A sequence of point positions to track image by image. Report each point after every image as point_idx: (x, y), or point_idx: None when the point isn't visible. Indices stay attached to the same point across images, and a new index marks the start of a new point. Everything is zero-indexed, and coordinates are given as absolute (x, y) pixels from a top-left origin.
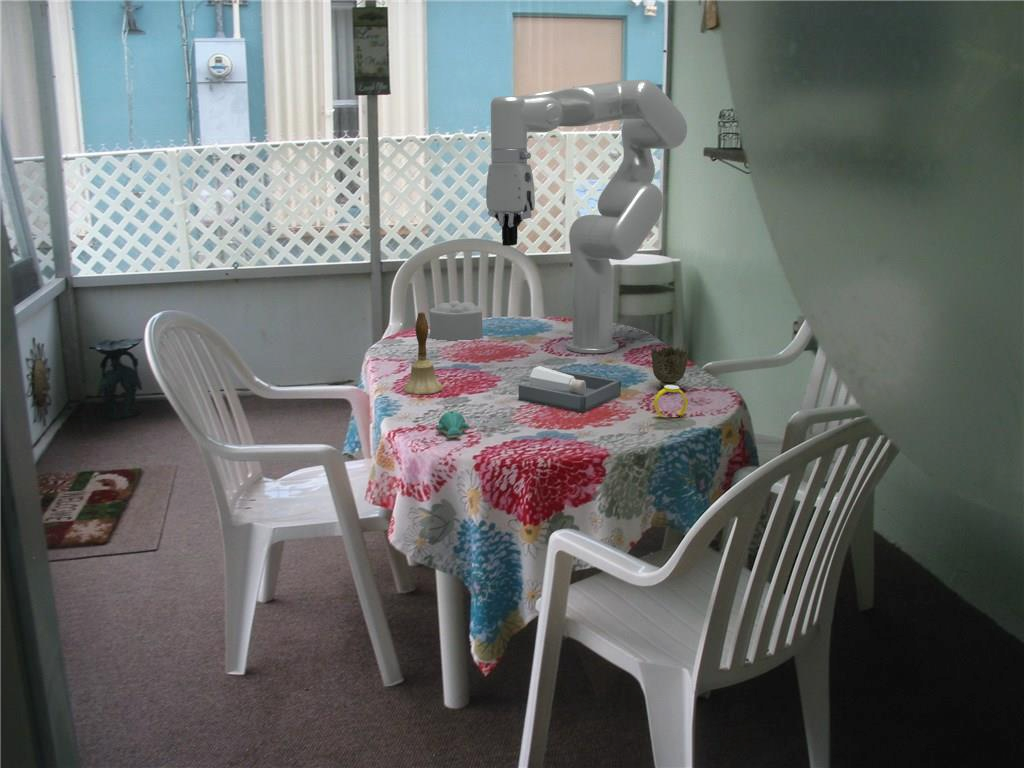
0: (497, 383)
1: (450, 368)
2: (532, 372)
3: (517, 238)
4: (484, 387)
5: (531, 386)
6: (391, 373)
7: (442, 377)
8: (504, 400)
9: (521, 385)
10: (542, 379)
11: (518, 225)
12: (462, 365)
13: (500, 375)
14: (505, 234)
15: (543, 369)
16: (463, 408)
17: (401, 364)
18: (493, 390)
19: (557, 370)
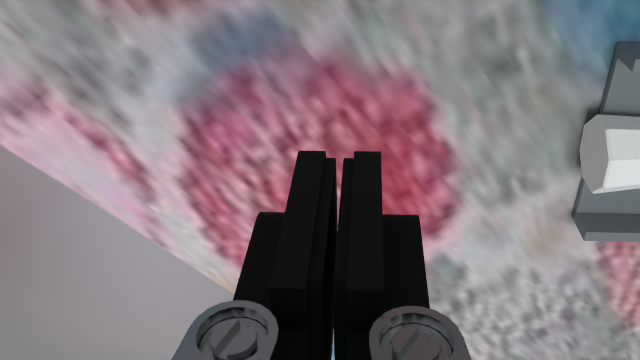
0: (442, 134)
1: (220, 85)
2: (601, 190)
3: (419, 222)
4: (432, 179)
5: (624, 235)
6: (143, 203)
7: (274, 166)
8: (540, 234)
9: (593, 239)
10: (637, 188)
11: (445, 336)
12: (221, 36)
13: (400, 63)
14: (331, 346)
15: (636, 174)
16: (484, 309)
17: (80, 128)
18: (469, 187)
19: (638, 67)
